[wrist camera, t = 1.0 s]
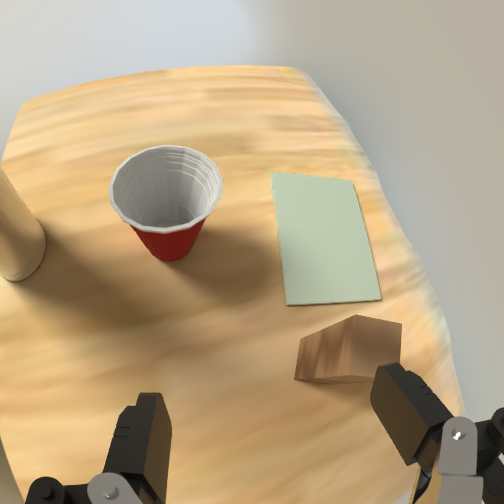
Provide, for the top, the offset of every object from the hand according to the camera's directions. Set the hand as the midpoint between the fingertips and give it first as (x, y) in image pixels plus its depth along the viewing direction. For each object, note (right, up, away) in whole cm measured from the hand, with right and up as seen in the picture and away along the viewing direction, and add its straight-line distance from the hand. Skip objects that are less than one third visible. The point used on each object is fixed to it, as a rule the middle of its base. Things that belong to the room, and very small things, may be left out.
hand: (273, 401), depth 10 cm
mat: (+9, +8, +32) cm, 34 cm away
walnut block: (+7, -8, +24) cm, 26 cm away
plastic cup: (-11, +7, +27) cm, 30 cm away
